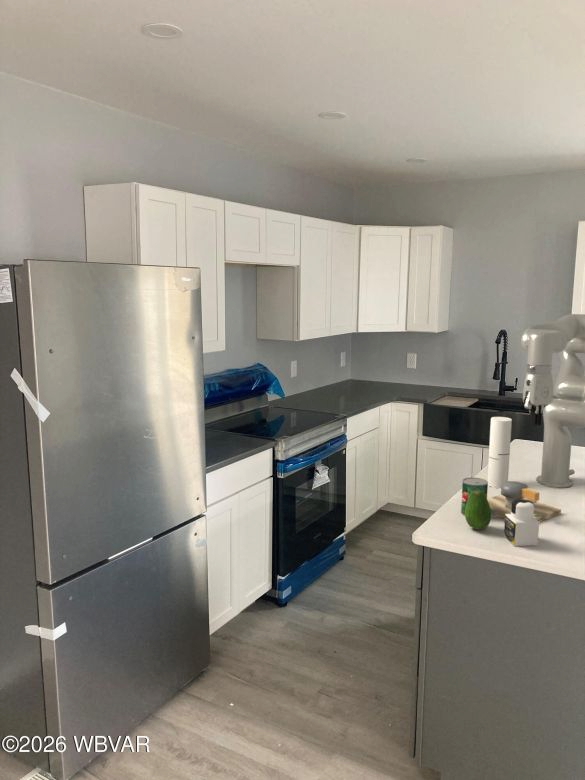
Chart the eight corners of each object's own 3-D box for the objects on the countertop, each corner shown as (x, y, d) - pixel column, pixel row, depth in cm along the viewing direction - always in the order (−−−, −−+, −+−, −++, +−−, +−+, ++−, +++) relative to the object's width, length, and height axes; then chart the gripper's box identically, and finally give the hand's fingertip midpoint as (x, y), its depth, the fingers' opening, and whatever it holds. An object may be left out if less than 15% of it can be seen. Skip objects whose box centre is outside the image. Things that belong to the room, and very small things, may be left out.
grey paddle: (495, 492, 205) (496, 483, 205) (512, 489, 209) (513, 479, 208) (527, 505, 194) (528, 495, 193) (545, 500, 198) (545, 491, 197)
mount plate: (508, 496, 219) (509, 481, 218) (560, 513, 202) (561, 497, 202) (473, 506, 209) (474, 491, 208) (526, 526, 192) (527, 508, 192)
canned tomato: (455, 511, 205) (457, 478, 203) (476, 508, 208) (477, 476, 206) (470, 519, 198) (472, 486, 196) (491, 516, 200) (493, 483, 199)
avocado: (460, 524, 194) (462, 486, 192) (485, 523, 195) (487, 486, 193) (469, 534, 186) (471, 495, 184) (495, 533, 187) (497, 495, 185)
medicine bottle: (503, 536, 185) (505, 497, 183) (526, 535, 185) (529, 496, 183) (513, 546, 178) (516, 506, 176) (538, 545, 178) (541, 505, 176)
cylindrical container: (508, 489, 227) (513, 421, 222) (488, 487, 228) (492, 420, 224) (506, 482, 234) (510, 417, 229) (486, 481, 235) (489, 416, 231)
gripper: (534, 373, 198) (530, 429, 201) (563, 369, 206) (559, 424, 209) (514, 370, 204) (511, 425, 207) (543, 366, 212) (539, 420, 215)
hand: (535, 424), depth 208 cm, fingers closed
